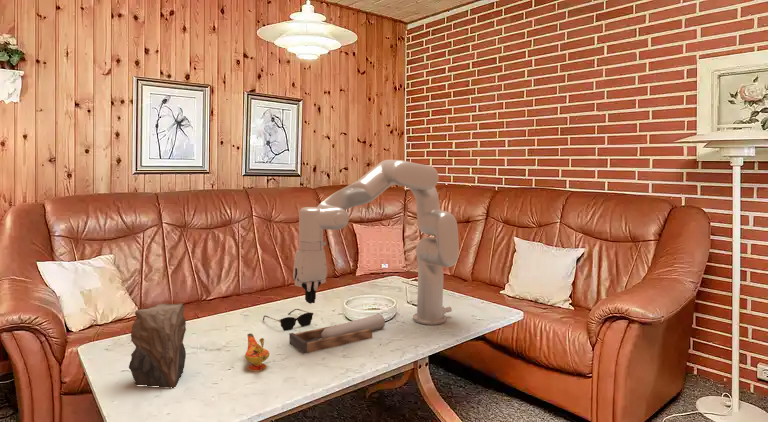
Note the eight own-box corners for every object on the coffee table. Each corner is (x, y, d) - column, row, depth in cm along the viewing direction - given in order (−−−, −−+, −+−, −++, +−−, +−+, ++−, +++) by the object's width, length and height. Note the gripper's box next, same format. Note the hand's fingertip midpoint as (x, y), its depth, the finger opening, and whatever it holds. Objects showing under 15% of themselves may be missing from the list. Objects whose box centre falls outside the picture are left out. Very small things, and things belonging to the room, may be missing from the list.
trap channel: (356, 329, 181) (356, 319, 181) (372, 338, 173) (372, 328, 172) (289, 343, 166) (289, 333, 166) (303, 354, 158) (303, 343, 157)
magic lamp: (260, 352, 159) (260, 318, 157) (275, 375, 143) (275, 337, 141) (238, 355, 156) (237, 321, 154) (250, 379, 140) (250, 340, 138)
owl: (127, 386, 134) (124, 313, 132) (152, 367, 147) (150, 299, 144) (174, 389, 133) (171, 315, 131) (195, 369, 146) (193, 301, 144)
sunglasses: (280, 333, 177) (279, 319, 176) (259, 324, 189) (258, 310, 189) (314, 325, 185) (313, 311, 185) (291, 316, 198) (291, 304, 197)
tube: (328, 335, 164) (386, 319, 180) (319, 326, 168) (377, 310, 184) (325, 348, 166) (383, 331, 182) (317, 339, 170) (374, 323, 186)
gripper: (325, 242, 169) (325, 296, 171) (284, 246, 160) (283, 302, 162) (337, 246, 163) (336, 301, 164) (294, 250, 154) (294, 308, 156)
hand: (310, 302), depth 163 cm, fingers closed
